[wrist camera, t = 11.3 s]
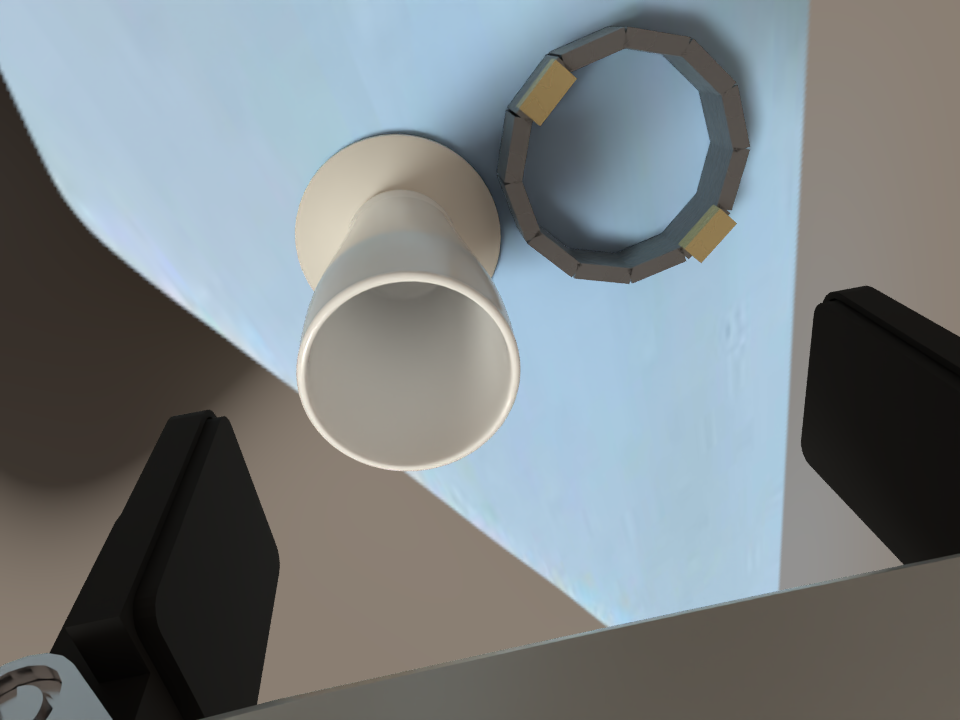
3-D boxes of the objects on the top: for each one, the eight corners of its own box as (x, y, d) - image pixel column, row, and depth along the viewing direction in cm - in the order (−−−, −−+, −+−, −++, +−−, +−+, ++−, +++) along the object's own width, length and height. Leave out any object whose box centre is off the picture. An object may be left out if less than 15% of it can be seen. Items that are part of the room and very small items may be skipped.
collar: (450, 176, 33) (456, 192, 30) (603, -31, 30) (627, -37, 27) (619, 306, 37) (639, 331, 34) (770, 136, 34) (806, 146, 31)
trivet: (257, 259, 34) (255, 263, 33) (372, 87, 31) (372, 88, 30) (421, 363, 37) (422, 368, 37) (538, 217, 35) (541, 220, 34)
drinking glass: (308, 199, 32) (251, 316, 19) (444, 151, 32) (485, 235, 19) (363, 324, 35) (346, 503, 22) (488, 281, 35) (549, 434, 22)
